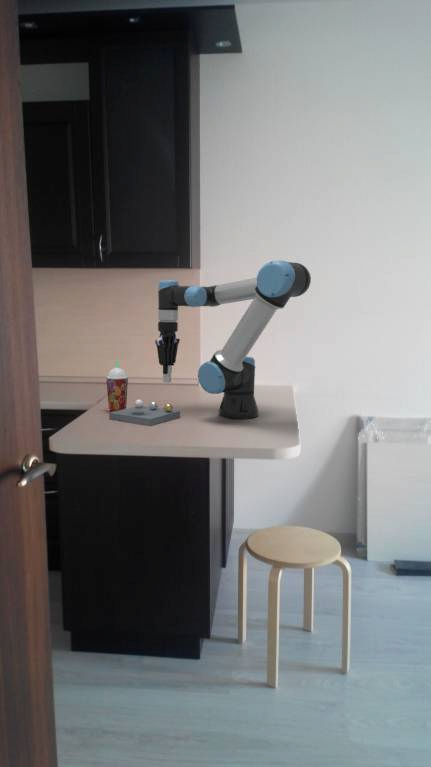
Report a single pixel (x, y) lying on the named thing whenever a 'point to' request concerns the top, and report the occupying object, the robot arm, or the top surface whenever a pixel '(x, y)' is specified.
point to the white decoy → (138, 403)
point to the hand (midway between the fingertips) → (167, 382)
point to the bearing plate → (144, 415)
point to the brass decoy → (168, 407)
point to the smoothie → (117, 389)
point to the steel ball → (153, 405)
